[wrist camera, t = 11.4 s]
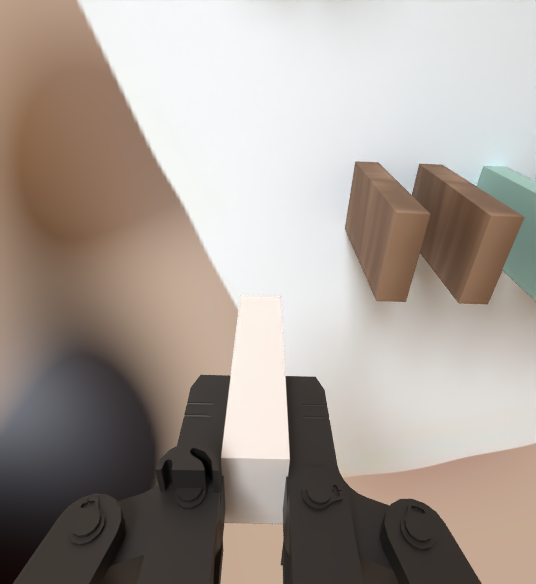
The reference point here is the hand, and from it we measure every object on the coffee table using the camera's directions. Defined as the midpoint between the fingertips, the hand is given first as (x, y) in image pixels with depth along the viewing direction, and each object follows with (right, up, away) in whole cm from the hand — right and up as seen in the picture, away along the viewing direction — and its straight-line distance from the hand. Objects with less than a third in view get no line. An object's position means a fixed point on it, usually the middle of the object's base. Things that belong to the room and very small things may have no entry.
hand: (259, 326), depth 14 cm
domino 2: (+12, +8, +13) cm, 19 cm away
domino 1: (+7, +8, +13) cm, 17 cm away
